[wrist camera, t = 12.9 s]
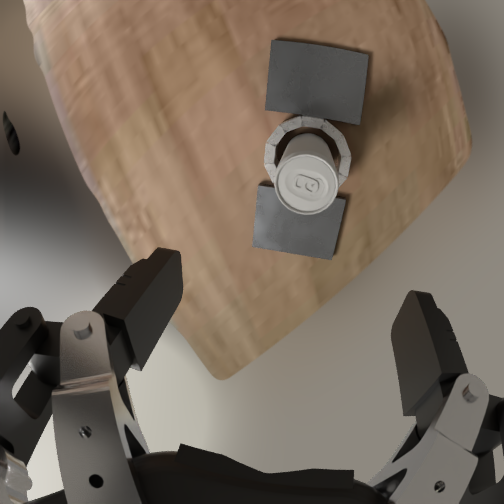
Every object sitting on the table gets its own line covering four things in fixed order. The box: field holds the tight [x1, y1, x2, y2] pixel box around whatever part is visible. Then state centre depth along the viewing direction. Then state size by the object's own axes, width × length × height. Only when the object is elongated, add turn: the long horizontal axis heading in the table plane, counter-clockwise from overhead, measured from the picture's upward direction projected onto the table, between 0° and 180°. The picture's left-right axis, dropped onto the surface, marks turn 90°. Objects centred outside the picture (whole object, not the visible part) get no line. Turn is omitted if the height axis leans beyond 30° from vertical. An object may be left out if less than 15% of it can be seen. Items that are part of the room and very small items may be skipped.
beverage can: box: [274, 133, 339, 215], centre depth 25 cm, size 5×5×12 cm
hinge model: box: [252, 40, 369, 260], centre depth 29 cm, size 25×10×3 cm, turn 176°
